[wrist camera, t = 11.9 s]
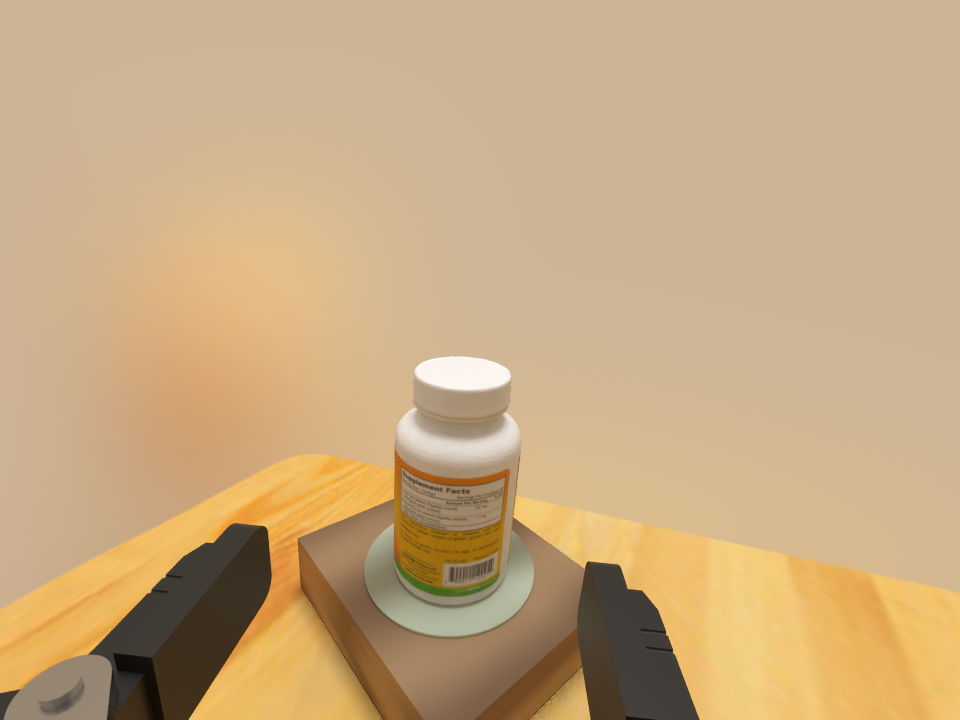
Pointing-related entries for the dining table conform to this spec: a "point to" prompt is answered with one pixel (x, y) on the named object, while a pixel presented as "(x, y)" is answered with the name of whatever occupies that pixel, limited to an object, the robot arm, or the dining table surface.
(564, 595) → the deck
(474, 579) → the supplement bottle
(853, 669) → the dining table surface
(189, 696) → the robot arm
